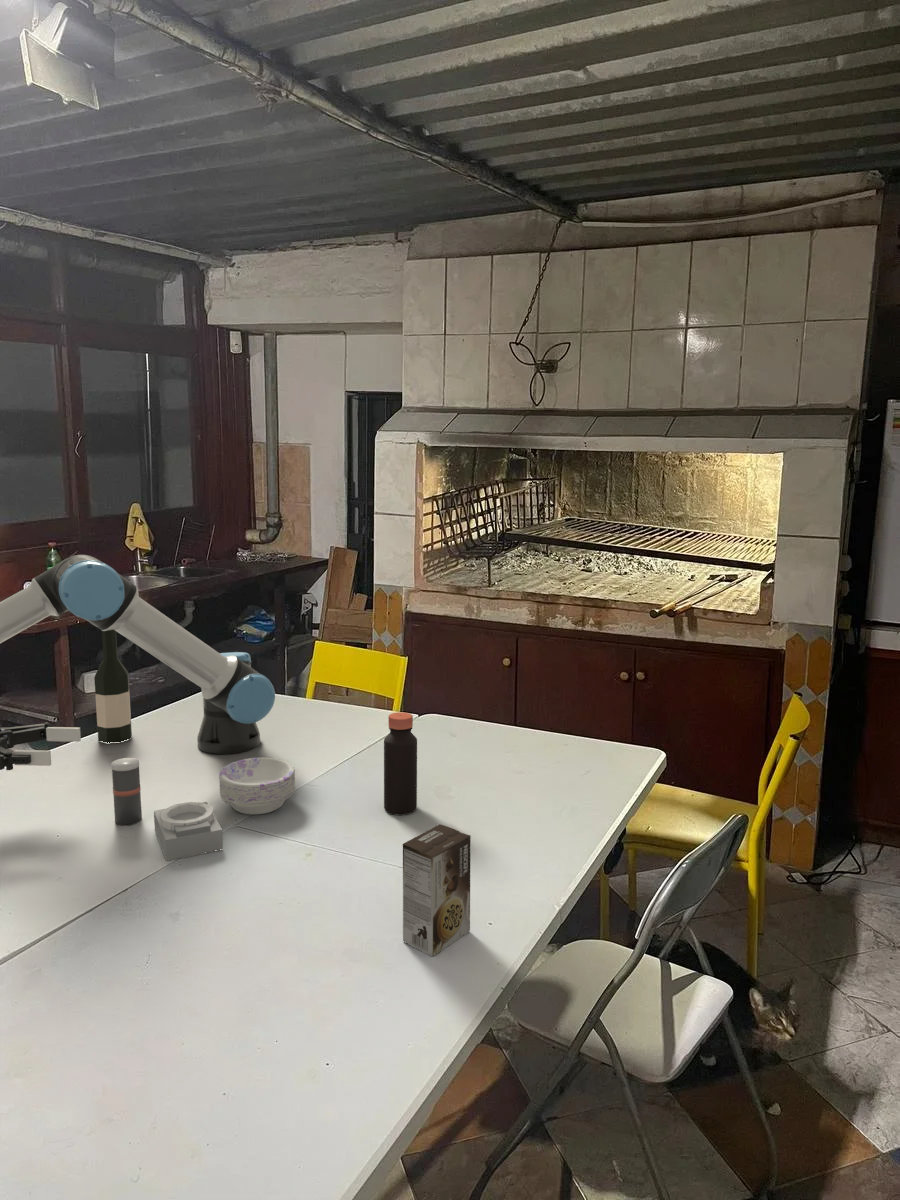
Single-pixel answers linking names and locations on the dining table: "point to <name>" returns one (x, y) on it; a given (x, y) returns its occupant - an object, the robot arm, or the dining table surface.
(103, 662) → the wine bottle
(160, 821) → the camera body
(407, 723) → the vinegar
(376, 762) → the dining table surface
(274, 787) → the paper bowls
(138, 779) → the grey capped canister
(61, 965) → the dining table surface
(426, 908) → the coffee box
